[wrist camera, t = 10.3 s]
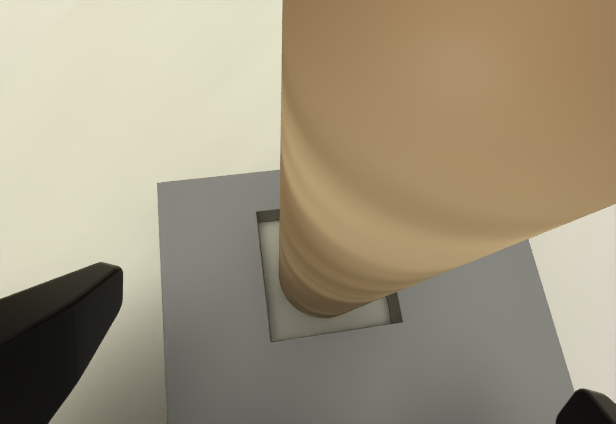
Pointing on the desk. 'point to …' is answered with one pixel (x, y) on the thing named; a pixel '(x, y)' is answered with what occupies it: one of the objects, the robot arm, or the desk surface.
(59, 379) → the robot arm
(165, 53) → the desk surface
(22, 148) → the desk surface
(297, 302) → the tall dowel
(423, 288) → the hole plate
